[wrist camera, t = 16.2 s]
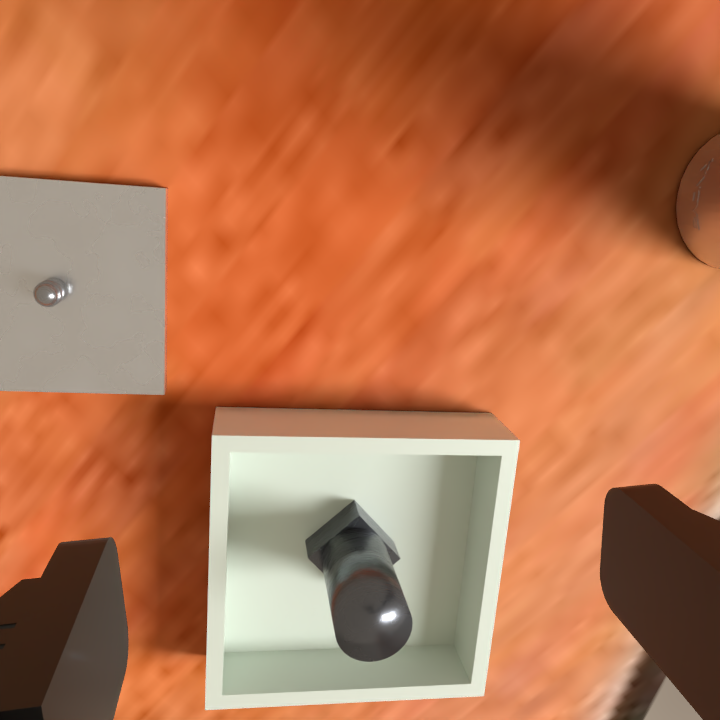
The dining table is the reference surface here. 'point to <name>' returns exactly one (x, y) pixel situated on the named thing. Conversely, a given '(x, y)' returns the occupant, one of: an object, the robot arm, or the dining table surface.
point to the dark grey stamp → (361, 584)
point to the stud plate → (82, 287)
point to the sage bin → (396, 518)
